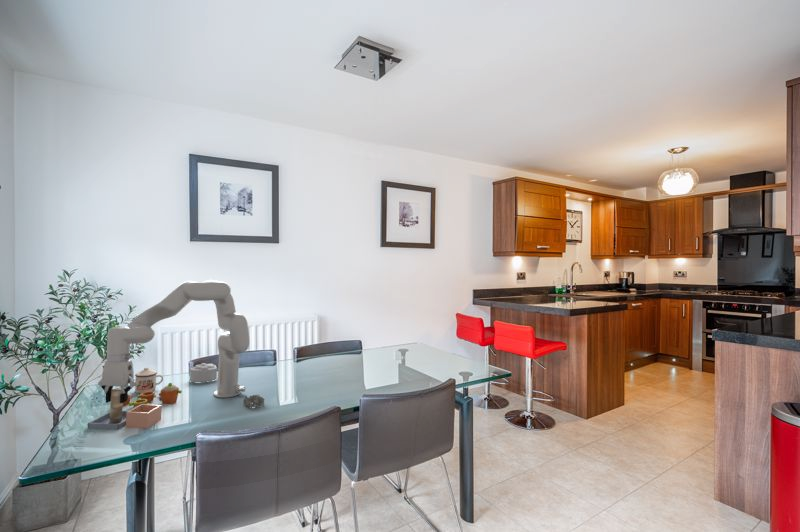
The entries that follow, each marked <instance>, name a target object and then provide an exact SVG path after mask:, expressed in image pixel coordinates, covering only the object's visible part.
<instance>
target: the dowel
mask: <svg viewBox="0 0 800 532" xmlns="http://www.w3.org/2000/svg"><path fill="white" fill-rule="evenodd" d="M121 393H122V391H121V387H118V388H117V387H116V388H112V390H111V401H110V403H109V404H110V407H109V412H110V421H109V423H111V424H114V423H119V422H121V421H122V410H123V407H124V406H123V403H120V394H121Z"/></svg>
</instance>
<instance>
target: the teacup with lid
mask: <svg viewBox="0 0 800 532" xmlns="http://www.w3.org/2000/svg"><path fill="white" fill-rule="evenodd" d="M134 377H135V380H134V381H135V383H136V385H135V386H134V392H135V393H136V394H142V393H144V392H154V391H155V390H156V386H157V385H160V384H162V382H163V381H164V377H163V375H162V374H158V373H157V371H156V370H155V369H150V368H149V367H144V368H143V369H141V370H140V371H137V372H136V373H135V375H134ZM157 377H160V378H161V379H160V381H158V382H157Z"/></svg>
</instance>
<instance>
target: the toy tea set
mask: <svg viewBox="0 0 800 532" xmlns="http://www.w3.org/2000/svg"><path fill="white" fill-rule="evenodd" d="M182 392H183V391H182V390H181V389H180V388H179V387H178V386H177V385H174V384H173V383H172V382H169V383H168V384H167V385H165V386H164V387H163V388H162V389H160V392H159V393H158V396H159V398H160V400H161V403H162V404H161V405H174V404H176V403H177V401H178V397H179V394H182ZM136 398H137V399H135V400H134V401H133V402H131V400H132V395H131V394H128V398H127V401H126V402H124V403H123V407H124V406H129V407H132V406H133V408H135V407H137V406H139V405H140V404H151V403H152V402H154V398H157V395H156V394H155V392H154V391H152V392H144V393H140V395H139V394H138V395H137V397H136Z"/></svg>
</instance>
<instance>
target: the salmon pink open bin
mask: <svg viewBox="0 0 800 532" xmlns="http://www.w3.org/2000/svg"><path fill="white" fill-rule="evenodd" d="M162 408H163V404H152V403H150V404H140V405H139V406H137V407H135V408H134V407H133V408H131V409H130V410H127V411H128V412H126V426H125V428H126V429H127V428H128V429H129V428H130V429H131V428H132V429H149V428H150V427H152V426H154V425H155V424H156V423H159V422H160V421H161V420H162V412H163V411H162Z"/></svg>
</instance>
